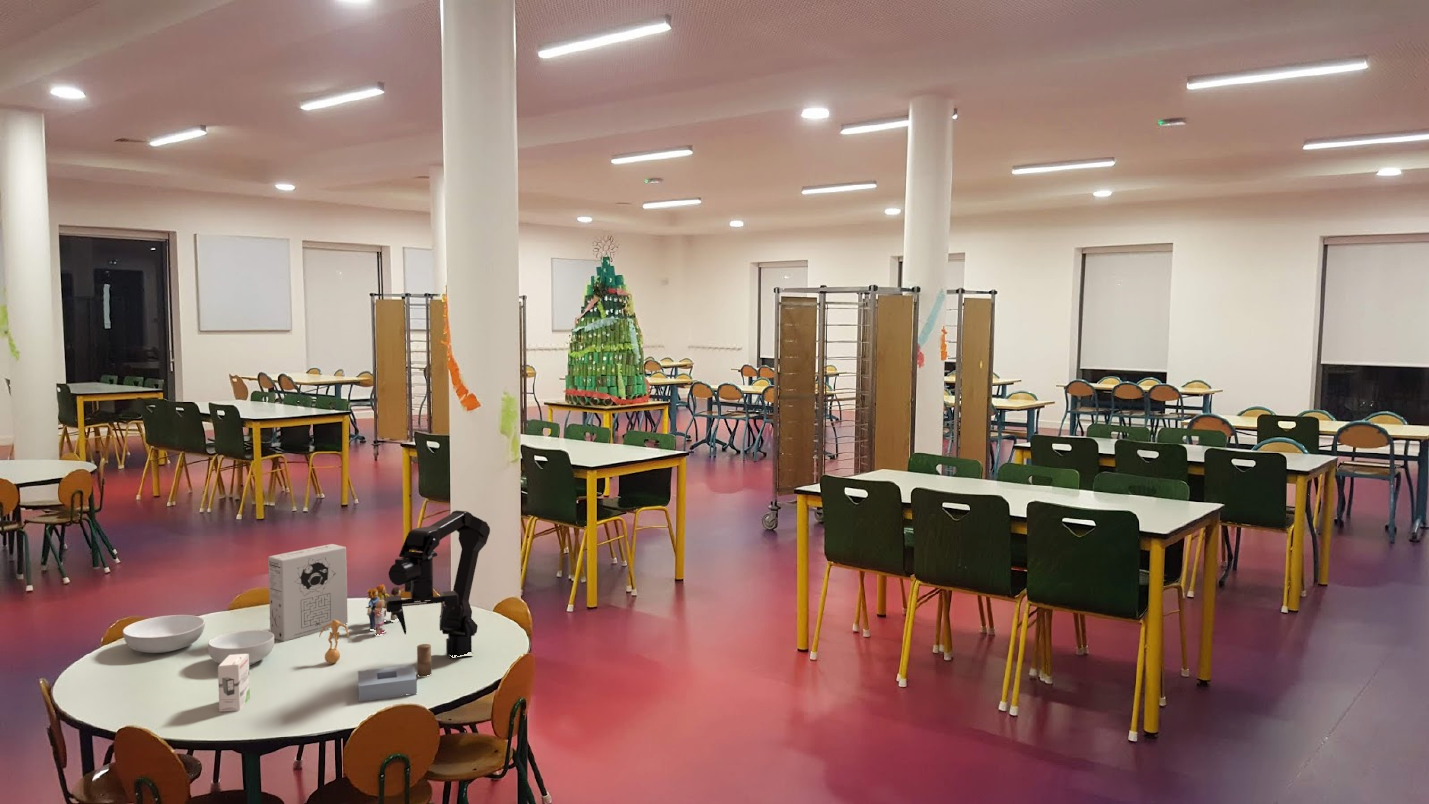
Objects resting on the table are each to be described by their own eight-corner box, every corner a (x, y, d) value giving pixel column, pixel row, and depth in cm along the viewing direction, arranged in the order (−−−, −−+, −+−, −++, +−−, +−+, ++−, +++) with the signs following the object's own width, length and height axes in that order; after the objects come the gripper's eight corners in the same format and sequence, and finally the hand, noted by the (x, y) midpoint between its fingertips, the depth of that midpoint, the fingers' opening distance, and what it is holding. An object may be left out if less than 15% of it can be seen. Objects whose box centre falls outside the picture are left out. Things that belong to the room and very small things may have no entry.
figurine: (314, 665, 266) (313, 623, 265) (323, 657, 272) (322, 616, 271) (344, 665, 266) (343, 623, 265) (352, 658, 272) (351, 617, 271)
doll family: (381, 638, 289) (380, 596, 288) (350, 638, 289) (349, 595, 288) (405, 617, 310) (404, 577, 309) (375, 617, 310) (375, 577, 309)
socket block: (413, 679, 256) (413, 664, 256) (416, 694, 246) (416, 679, 246) (358, 686, 251) (357, 671, 251) (359, 701, 241) (358, 686, 241)
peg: (430, 671, 262) (430, 643, 262) (431, 676, 259) (431, 647, 258) (417, 673, 261) (416, 644, 260) (418, 677, 258) (417, 649, 257)
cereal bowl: (284, 663, 268) (284, 638, 267) (222, 678, 256) (221, 652, 255) (260, 648, 279) (259, 625, 279) (199, 662, 267) (198, 638, 267)
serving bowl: (131, 666, 264) (130, 642, 264) (117, 646, 280) (116, 623, 279) (213, 649, 278) (213, 626, 277) (195, 632, 294) (195, 610, 293)
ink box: (230, 698, 242) (228, 653, 241) (250, 697, 243) (249, 652, 242) (218, 712, 234) (217, 665, 233) (240, 711, 235) (238, 664, 234)
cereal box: (334, 619, 307) (332, 543, 305) (348, 624, 303) (346, 546, 301) (269, 637, 290) (267, 556, 288) (283, 642, 285) (281, 560, 283)
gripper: (454, 565, 269) (455, 619, 270) (384, 571, 262) (385, 626, 263) (458, 575, 258) (459, 631, 260) (386, 581, 252) (387, 639, 253)
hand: (423, 632), depth 259 cm, fingers open, 9 cm apart
